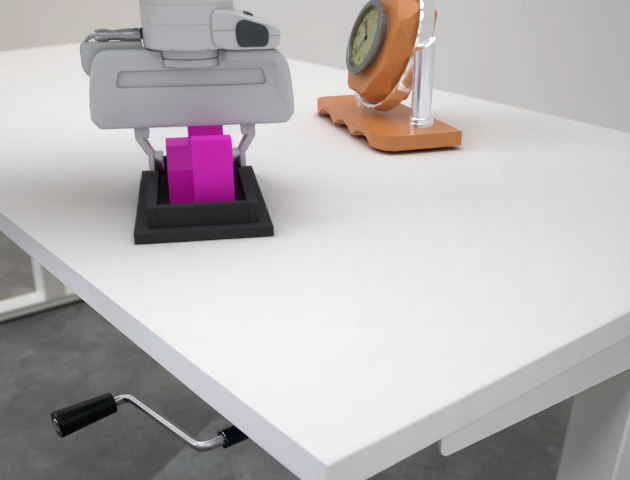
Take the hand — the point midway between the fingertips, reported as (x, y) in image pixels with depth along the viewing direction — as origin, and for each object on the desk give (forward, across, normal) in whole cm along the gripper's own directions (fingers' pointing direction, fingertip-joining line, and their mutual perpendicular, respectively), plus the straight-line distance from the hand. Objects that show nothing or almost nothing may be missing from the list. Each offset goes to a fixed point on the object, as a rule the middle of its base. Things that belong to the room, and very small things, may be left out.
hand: (198, 168), depth 79 cm
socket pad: (+4, 0, 0) cm, 4 cm away
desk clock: (+4, +28, +32) cm, 43 cm away
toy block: (+3, 0, 0) cm, 3 cm away
